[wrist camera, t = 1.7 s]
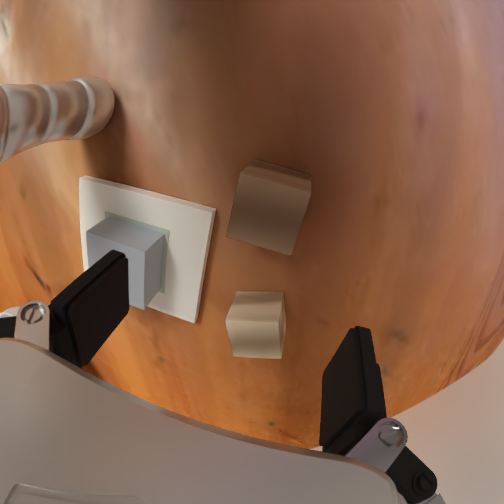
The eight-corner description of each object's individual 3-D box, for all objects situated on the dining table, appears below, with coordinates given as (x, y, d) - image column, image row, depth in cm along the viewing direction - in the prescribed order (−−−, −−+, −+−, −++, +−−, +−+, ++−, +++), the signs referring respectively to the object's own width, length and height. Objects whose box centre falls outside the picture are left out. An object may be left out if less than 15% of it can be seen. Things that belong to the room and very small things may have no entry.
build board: (86, 175, 28) (78, 178, 27) (216, 208, 27) (212, 213, 26) (90, 275, 35) (84, 280, 34) (197, 317, 34) (194, 324, 33)
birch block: (237, 290, 31) (225, 320, 27) (283, 290, 30) (278, 322, 26) (243, 325, 34) (233, 356, 29) (286, 326, 32) (281, 358, 28)
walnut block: (255, 159, 25) (240, 172, 19) (311, 174, 24) (311, 193, 19) (243, 210, 27) (225, 236, 22) (295, 225, 27) (290, 256, 21)
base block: (108, 216, 28) (85, 231, 25) (164, 233, 28) (144, 251, 25) (109, 269, 32) (90, 287, 28) (160, 288, 31) (144, 310, 28)
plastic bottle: (134, 103, 24) (-62, 142, 6) (96, 148, 26) (-68, 219, 9) (103, 64, 22) (-75, 76, 5) (69, 109, 25) (-88, 154, 7)
